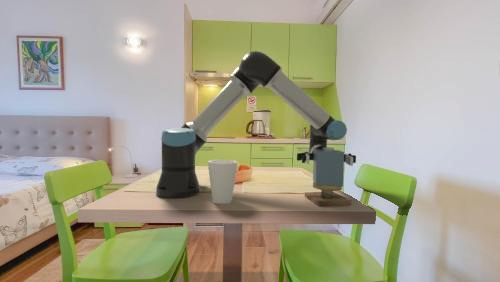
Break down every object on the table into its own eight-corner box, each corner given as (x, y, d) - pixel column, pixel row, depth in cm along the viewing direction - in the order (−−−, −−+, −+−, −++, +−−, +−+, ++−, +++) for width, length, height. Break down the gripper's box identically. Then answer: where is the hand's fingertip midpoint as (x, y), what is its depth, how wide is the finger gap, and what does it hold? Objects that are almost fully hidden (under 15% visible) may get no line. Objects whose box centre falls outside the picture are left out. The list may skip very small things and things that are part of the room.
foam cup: (231, 206, 72) (232, 164, 72) (203, 204, 74) (203, 162, 74) (239, 198, 82) (240, 160, 81) (213, 195, 83) (214, 159, 83)
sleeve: (313, 179, 85) (314, 149, 85) (337, 181, 84) (338, 150, 84) (315, 185, 77) (316, 151, 77) (342, 186, 76) (344, 152, 75)
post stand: (304, 196, 85) (306, 146, 84) (332, 195, 87) (334, 146, 86) (319, 206, 74) (321, 148, 73) (351, 205, 76) (353, 149, 76)
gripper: (352, 164, 96) (370, 174, 75) (289, 162, 100) (290, 170, 79) (353, 146, 96) (371, 150, 75) (290, 144, 100) (290, 147, 79)
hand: (329, 160), depth 77 cm, fingers open, 13 cm apart
